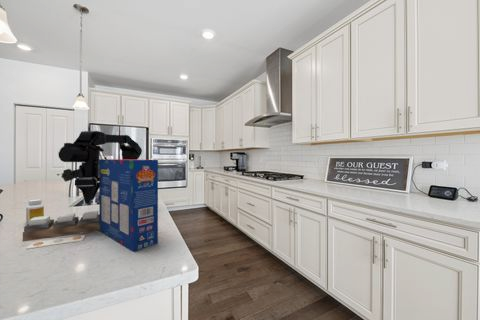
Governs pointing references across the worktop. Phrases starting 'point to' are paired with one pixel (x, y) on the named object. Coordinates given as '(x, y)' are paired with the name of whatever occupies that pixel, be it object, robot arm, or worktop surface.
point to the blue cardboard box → (129, 202)
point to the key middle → (66, 217)
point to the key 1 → (39, 220)
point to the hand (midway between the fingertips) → (89, 201)
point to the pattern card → (56, 242)
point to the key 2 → (90, 215)
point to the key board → (60, 228)
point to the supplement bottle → (34, 209)
